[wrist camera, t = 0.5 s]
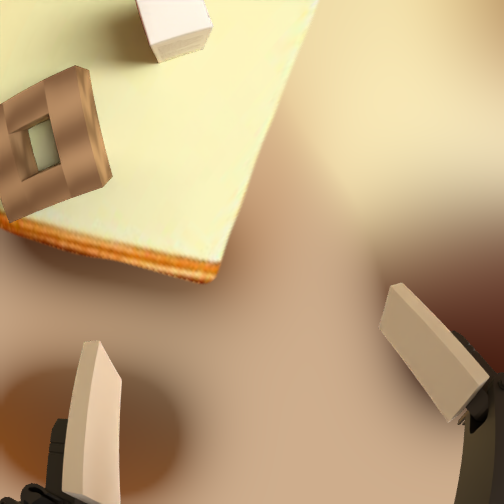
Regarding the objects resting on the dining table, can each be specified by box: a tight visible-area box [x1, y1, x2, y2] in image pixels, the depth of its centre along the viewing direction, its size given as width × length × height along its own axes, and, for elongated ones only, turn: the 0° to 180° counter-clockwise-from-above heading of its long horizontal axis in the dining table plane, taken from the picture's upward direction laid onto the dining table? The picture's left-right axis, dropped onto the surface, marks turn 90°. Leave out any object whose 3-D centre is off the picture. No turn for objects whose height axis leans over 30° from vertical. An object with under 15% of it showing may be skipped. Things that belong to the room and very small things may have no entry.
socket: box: [0, 65, 113, 223], centre depth 25 cm, size 14×14×5 cm
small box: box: [135, 0, 213, 63], centre depth 20 cm, size 8×6×10 cm
